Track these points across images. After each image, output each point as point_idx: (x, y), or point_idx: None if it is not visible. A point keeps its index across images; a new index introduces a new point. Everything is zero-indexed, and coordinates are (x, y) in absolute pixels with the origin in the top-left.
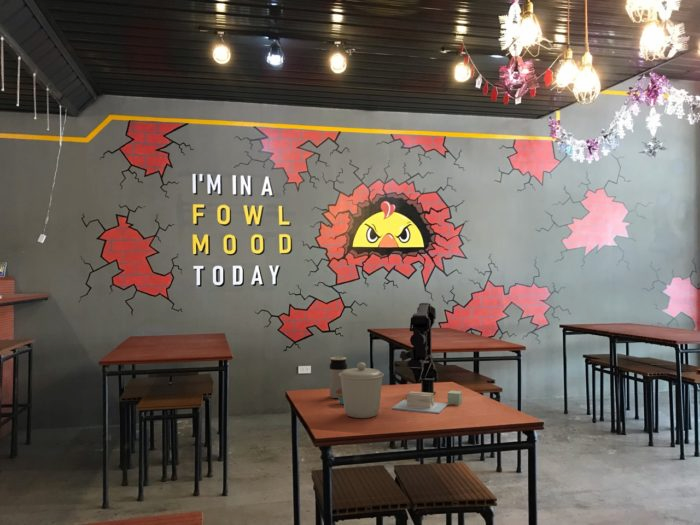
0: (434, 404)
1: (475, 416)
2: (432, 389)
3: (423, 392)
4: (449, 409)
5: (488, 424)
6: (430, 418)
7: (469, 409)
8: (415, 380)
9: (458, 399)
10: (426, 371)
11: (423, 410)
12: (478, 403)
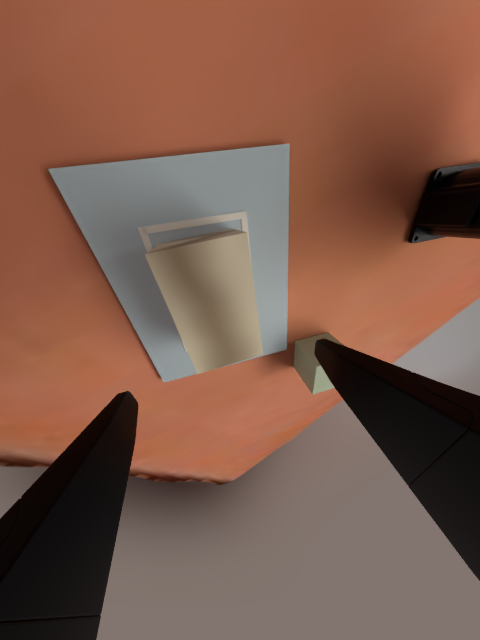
0: None
1: (203, 433)
2: (450, 236)
3: (256, 313)
4: (234, 372)
5: (158, 468)
6: (86, 390)
7: (260, 399)
8: (95, 419)
9: (302, 377)
10: (370, 427)
11: (144, 339)
12: None
